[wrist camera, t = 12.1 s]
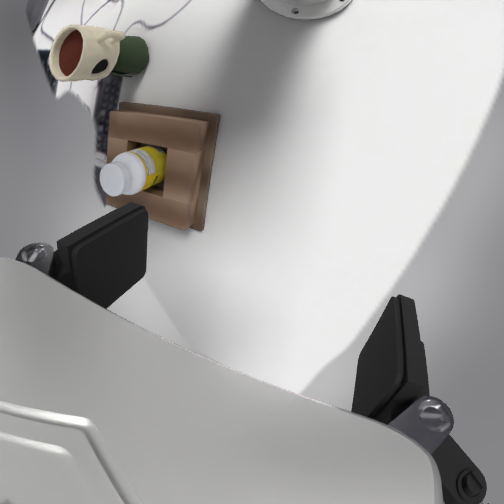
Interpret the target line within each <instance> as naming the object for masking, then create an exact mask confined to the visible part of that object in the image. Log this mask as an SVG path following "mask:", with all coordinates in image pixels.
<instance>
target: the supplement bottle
mask: <svg viewBox="0 0 504 504" xmlns="http://www.w3.org/2000/svg"><path fill="white" fill-rule="evenodd" d="M166 158H167V149H166V148H165V147H161V146H156V145H148V146H145V147H141V148H137V149H134V150H130V151H127V152H124V153H121V154H119V155H117V156H116V157H115V158H114V159H113V161H112V162H111V163H108V164H106V165H105V166H104V167H103V168H102V169H101V172H100V183H101V186H102V188H103V190H104V191H105V192H106V193H107V194H108V195H110V196H118V195H121V194H125V195H133V194H136V193H138V192H140V191H142V190H145V189H147V188H149V187H151V186H153V185H155V184H157V183H159V182H162V181H163V180H164V179H165V168H166Z"/></svg>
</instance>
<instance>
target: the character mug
mask: <svg viewBox="0 0 504 504" xmlns="http://www.w3.org/2000/svg"><path fill="white" fill-rule="evenodd" d="M148 58H149V54H148V47H147V45H146V43H145V41H144V40H143V39H142V38H140V37H136V36H125V34H124V33H123V32H120V31H114V30H110V29H107V28H100V27H93V26H85V25H69V26H67V27H65V28H63V29H62V30H61V31H60V32H59V34H58V35H57V36H56V38H55V40H54V42H53V44H52V47H51V51H50V55H49V67H50V70H51V73H52V75H53V76H54V77H55V79H56V80H59V81H79V80H92V81H93V80H98V79H102V78H105V77H106V76H108V75H109V74H112V75H117V76H124V77H133V76H128V75H123V74H129V73H133V74H139V73H140V72H141V71H142V70H143V69H144V67H145V66H146V63H147V61H148Z"/></svg>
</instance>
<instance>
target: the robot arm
mask: <svg viewBox="0 0 504 504" xmlns="http://www.w3.org/2000/svg"><path fill="white" fill-rule="evenodd" d="M260 1H261V2H262V3H263V4H264V5H266V6H267V7H268V8H269V9H271V10H272V11H274V12H276V13H278V14H280V15H283V16H286V17H289V18H294V19H305V20H310V19H319V18H323V17H327V16H330V15H332V14H334V13H337V12H338V11H340V10H341V9H343V8H344V7H346V6H347V5H348V4H349V3H350V2H351V1H352V0H344V1H343V2H340V0H260ZM297 11H298V12H299V13H298V14H295V12H297ZM147 232H148V212H147V211H146V208H145V207H144V206H142V205H139V204H137V203H134V202H130V203H128V204H126V205H124V206H122V207H120V208H118V209H116V210H114V211H112V212H110V213H108V214H106V215H105V216H102V217H100V218H98V219H97V220H95V221H93V222H91V223H89V224H87V225H85V226H83V227H82V228H80V229H78V230H76V231H74V232H73V233H71V234H69V235H67V236H65V237H64V238H62V239H60V240H58V241H57V248H58V250H57V251H55V252H54V249H53V247H52V246H51V245H49V244H47V243H32V244H29V245H27V246H25V247H23V248H22V249H21V250H20V251H19V253H18V254H17V257H16V259H15V260H13V259H7V258H0V504H484V502H483V499H484V497H485V495H486V489H487V487H486V481H485V478H484V476H483V474H482V473H481V471H480V470H479V469H478V468H477V467H476V465H475V464H474V463H473V462H472V461H471V459H470V458H469V457H468V456H467V455H466V454H465V453H464V451H463V450H462V449H461V448H460V447H459V445H458V444H457V443H456V442H455V441H454V439H453V438H452V437H451V436H450V435H449V434H450V432H451V431H452V429H453V427H454V417H453V414H452V412H451V410H450V408H449V407H448V406H447V404H446V403H444V402H443V401H442V400H440V399H439V398H436V397H433V396H430V395H429V384H428V374H427V365H426V357H425V349H424V344H423V342H422V341H421V340H420V333H419V327H418V320H417V314H416V308H415V303H414V300H413V299H411V298H408V297H405V296H402V295H398V296H397V297H391V299H390V300H389V302H388V304H387V306H386V309H385V310H384V312H383V314H382V316H381V317H380V319H379V321H378V323H377V325H376V327H375V328H374V330H373V332H372V334H371V335H370V337H369V339H368V341H367V342H366V344H365V346H364V348H363V349H362V351H361V353H360V355H359V359H358V366H357V374H356V382H355V390H354V397H353V404H352V411H351V412H350V411H347V410H344V409H341V408H338V407H335V406H333V405H330V404H327V403H323V402H320V401H317V400H314V399H311V398H308V397H305V396H303V395H300V394H297V393H294V392H291V391H288V390H286V389H283V388H280V387H277V386H275V385H272V384H269V383H267V382H264V381H261V380H259V379H256V378H254V377H251V376H249V375H246V374H244V373H241V372H239V371H236V370H234V369H231V368H229V367H227V366H224V365H222V364H219V363H217V362H215V361H212V360H210V359H208V358H205V357H203V356H201V355H199V354H196V353H194V352H192V351H190V350H187V349H185V348H183V347H181V346H179V345H177V344H175V343H172V342H170V341H168V340H166V339H164V338H162V337H160V336H158V335H156V334H154V333H152V332H150V331H148V330H146V329H144V328H142V327H140V326H138V325H135V324H134V323H132V322H130V321H128V320H126V319H124V318H122V317H120V316H118V315H116V314H114V313H113V312H111V311H109V310H107V307H109V306H110V305H111V304H112V303H113V302H115V301H116V300H117V299H118V298H119V297H120V296H122V295H123V294H124V293H125V292H126V291H127V290H129V289H130V288H131V287H132V286H133V285H134V284H136V283H137V282H138V281H139V280H140V279H141V278H143V276H144V275H145V272H146V258H147ZM488 504H489V503H488Z"/></svg>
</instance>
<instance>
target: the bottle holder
mask: <svg viewBox="0 0 504 504" xmlns="http://www.w3.org/2000/svg"><path fill="white" fill-rule="evenodd" d="M219 120H220V115H217V114H211V113H205V112H199V111H193V110H186V109H179V108H172V107H164V106H156V105H147V104H137V103H126V102H120V103H119V110H116V111H110V117H109V130H108V146H107V164H108V163H111V162H112V161H113V159H114V158H115V157H116V156H117V155H119V154H121V153H124V152H127V151H130V150H134V149H137V148H141V147H145V146H148V145H156V146H161V147H165V148H166V149H167V158H166V168H165V179H164V180H163V181H162V182H159V183H157V184H155V185H153V186H151V187H149V188H147V189H145V190H142V191H140V192H138V193H136V194H133V195H125V194H121V195H118V196H110V195H108V194H107V193H106V204H107V205H110V206H113V207H116V208H120V207H122V206H124V205H126V204H128V203H130V202H134V203H137V204H139V205H142V206H144V207H145V208H146V211H147V212H148V218H149V219H152V220H155V221H158V222H161V223H164V224H167V225H170V226H173V227H176V228H179V229H182V230H186V229H187V228H189V227H190V228H193V229H196V230H199V231H202V230H203V229H204V222H205V214H206V207H207V199H208V192H209V185H210V178H211V171H212V164H213V157H214V151H215V145H216V138H217V132H218V126H219Z"/></svg>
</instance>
